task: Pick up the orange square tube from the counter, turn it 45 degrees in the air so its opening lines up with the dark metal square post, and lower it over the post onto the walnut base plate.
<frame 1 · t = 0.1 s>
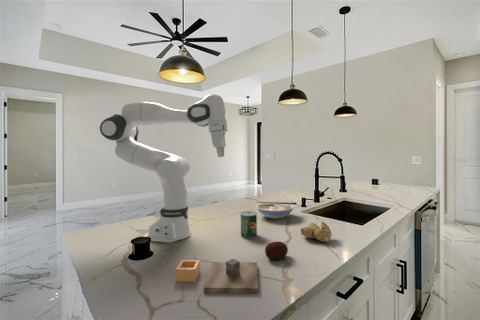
hand: (221, 156, 115), 39 cm above the worktop, fingers open, 8 cm apart
base plate: (233, 278, 78), on the worktop
orange square tube: (188, 276, 79), on the worktop
ginger root: (317, 239, 111), on the worktop
canned tomato: (248, 236, 116), on the worktop
ramen bowl: (275, 218, 147), on the worktop
potato: (276, 258, 92), on the worktop
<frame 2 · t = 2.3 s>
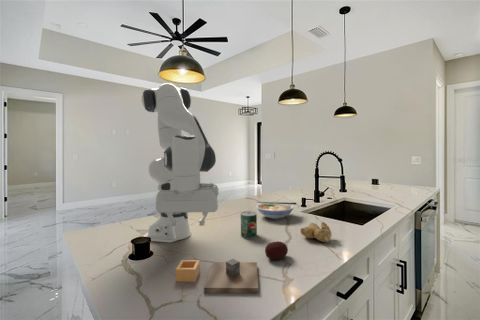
hand: (187, 225, 79), 17 cm above the worktop, fingers open, 8 cm apart
nothing on the worktop moved.
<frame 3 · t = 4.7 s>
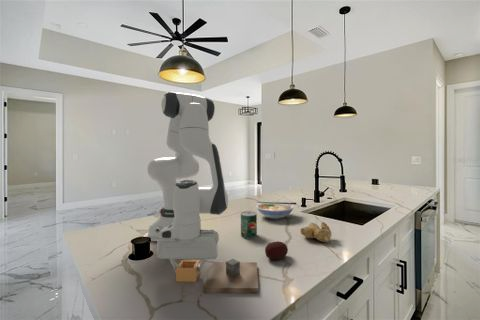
hand: (188, 270, 79), 2 cm above the worktop, fingers closed on orange square tube, 6 cm apart
orange square tube: (188, 276, 79), on the worktop, touching gripper
everything else where it was.
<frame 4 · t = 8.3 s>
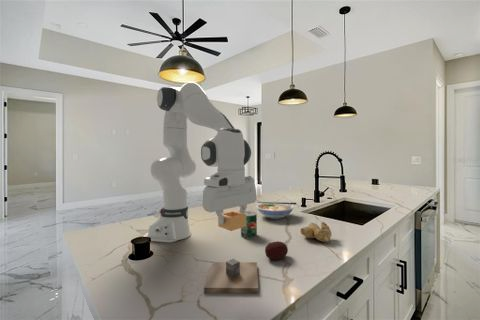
hand: (232, 220, 77), 19 cm above the worktop, fingers closed on orange square tube, 6 cm apart
orange square tube: (232, 226, 77), point 17 cm above the worktop, touching gripper
everything else where it was.
when the fingers open (4 cm above the worktop, at t = 11.9 s): orange square tube stays where it is, resting on base plate.
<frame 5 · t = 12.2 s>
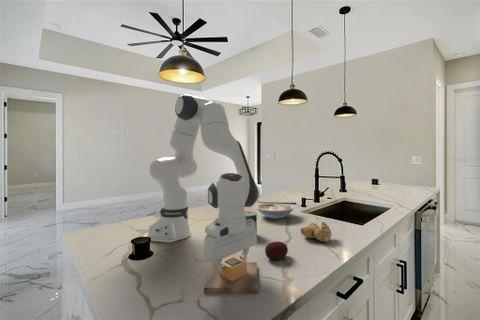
hand: (232, 265, 78), 4 cm above the worktop, fingers open, 8 cm apart
orange square tube: (233, 273, 78), point 1 cm above the worktop, touching base plate
everything else where it was.
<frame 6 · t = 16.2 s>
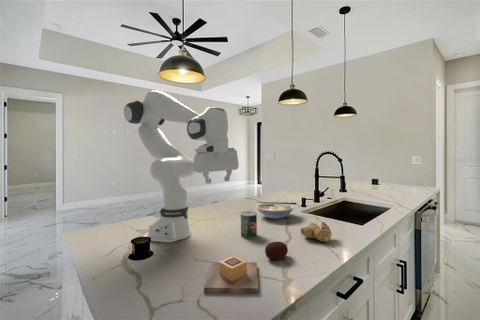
hand: (217, 182, 96), 29 cm above the worktop, fingers open, 8 cm apart
nothing on the worktop moved.
at the end: orange square tube 0.0 cm off-centre on the base plate, point 1.5 cm above the base plate's base; orange square tube tilted 0°; the gripper is holding nothing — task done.
